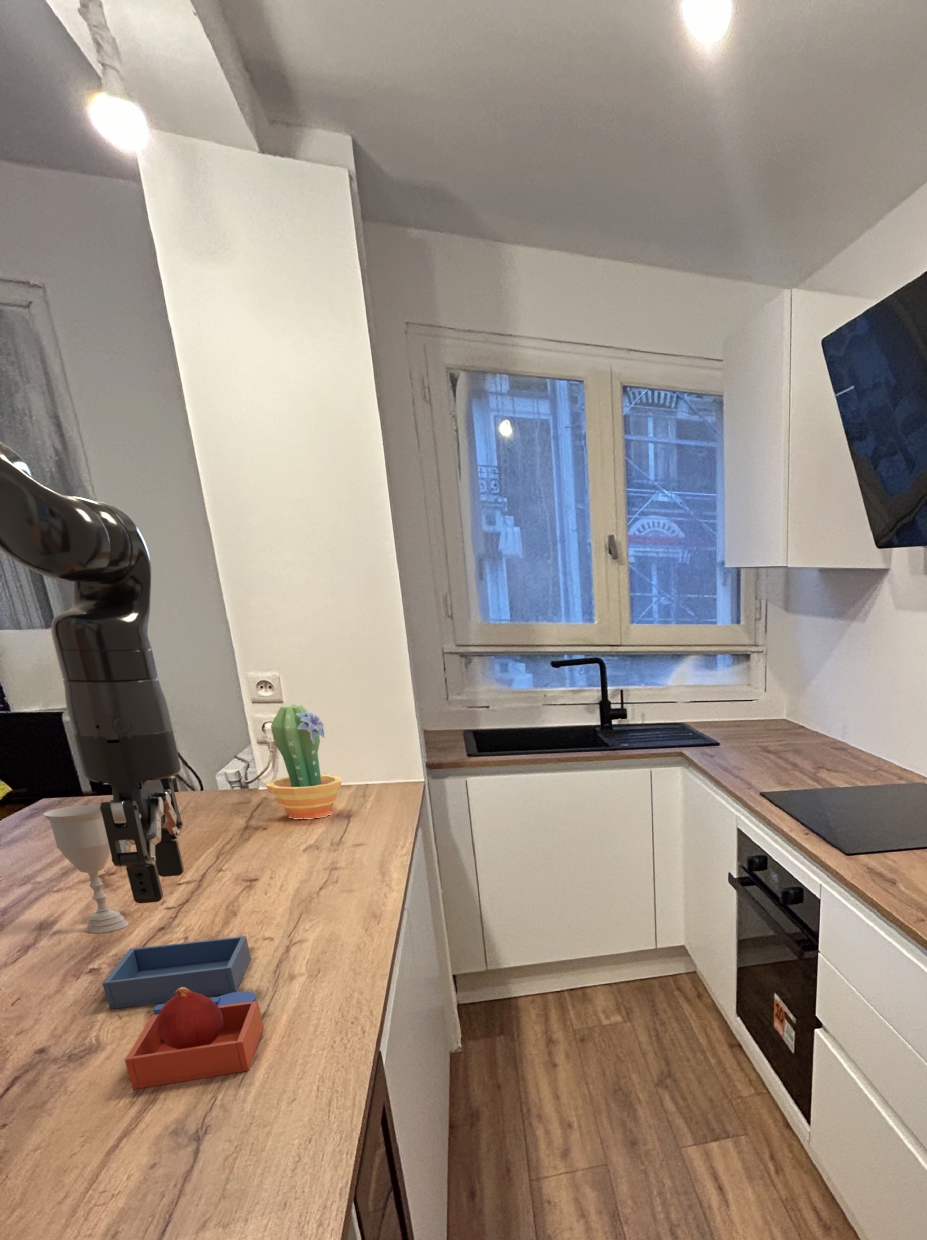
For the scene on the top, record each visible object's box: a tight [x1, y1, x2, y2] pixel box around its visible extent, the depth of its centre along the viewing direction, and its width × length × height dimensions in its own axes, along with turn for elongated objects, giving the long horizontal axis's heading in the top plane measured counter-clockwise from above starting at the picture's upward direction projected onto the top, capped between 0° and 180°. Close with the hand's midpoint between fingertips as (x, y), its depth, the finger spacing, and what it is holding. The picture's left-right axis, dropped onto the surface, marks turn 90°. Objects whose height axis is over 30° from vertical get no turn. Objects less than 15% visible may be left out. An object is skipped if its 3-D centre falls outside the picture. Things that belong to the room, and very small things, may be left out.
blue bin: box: [102, 935, 252, 1010], centre depth 105 cm, size 13×11×4 cm
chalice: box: [42, 804, 130, 934], centre depth 120 cm, size 7×7×18 cm
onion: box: [157, 987, 223, 1049], centre depth 88 cm, size 6×6×8 cm
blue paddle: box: [152, 990, 258, 1015], centre depth 98 cm, size 10×5×2 cm, turn 113°
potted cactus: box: [265, 704, 342, 819], centre depth 183 cm, size 15×15×25 cm
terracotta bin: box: [124, 1000, 264, 1090], centre depth 89 cm, size 10×10×4 cm
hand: (161, 887), depth 83 cm, fingers open, 8 cm apart
